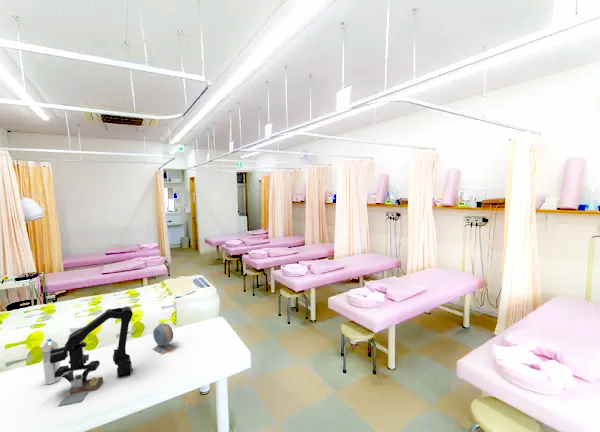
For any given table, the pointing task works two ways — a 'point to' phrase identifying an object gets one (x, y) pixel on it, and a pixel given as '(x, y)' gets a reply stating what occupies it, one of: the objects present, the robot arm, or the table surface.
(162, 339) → the alarm clock
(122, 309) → the robot arm
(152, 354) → the table surface
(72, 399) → the mat
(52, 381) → the water bottle
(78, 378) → the lever cap
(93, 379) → the lever
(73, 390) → the plane body
